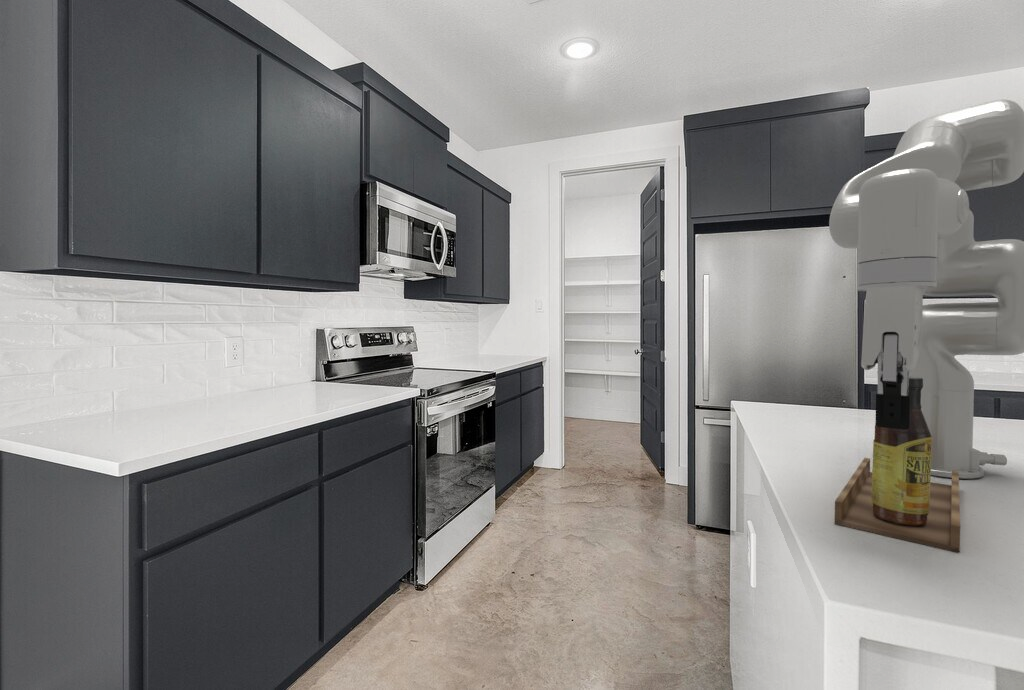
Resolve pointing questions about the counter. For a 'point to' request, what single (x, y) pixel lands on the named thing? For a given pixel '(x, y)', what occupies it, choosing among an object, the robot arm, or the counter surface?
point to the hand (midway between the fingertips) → (892, 426)
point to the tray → (936, 532)
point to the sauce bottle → (903, 467)
